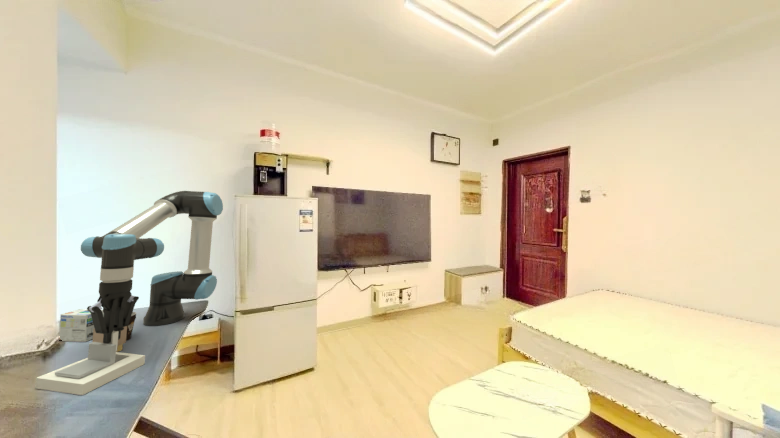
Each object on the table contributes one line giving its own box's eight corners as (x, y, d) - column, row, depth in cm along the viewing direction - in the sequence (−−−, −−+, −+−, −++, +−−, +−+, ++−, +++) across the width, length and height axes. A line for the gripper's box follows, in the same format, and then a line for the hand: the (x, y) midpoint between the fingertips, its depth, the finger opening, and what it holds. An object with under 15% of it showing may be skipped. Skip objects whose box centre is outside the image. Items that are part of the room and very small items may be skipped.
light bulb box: (104, 335, 105) (106, 309, 106) (85, 342, 99) (87, 315, 99) (77, 334, 105) (80, 308, 105) (57, 341, 98) (59, 314, 98)
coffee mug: (113, 346, 96) (115, 320, 97) (97, 343, 98) (99, 317, 98) (148, 334, 108) (150, 310, 108) (133, 331, 109) (134, 308, 110)
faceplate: (104, 359, 88) (105, 350, 88) (144, 364, 86) (145, 355, 86) (35, 388, 72) (36, 377, 72) (82, 395, 70) (83, 384, 70)
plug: (111, 347, 95) (113, 322, 96) (125, 349, 95) (127, 324, 95) (91, 355, 89) (93, 329, 90) (105, 357, 89) (107, 330, 89)
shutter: (92, 359, 81) (93, 341, 82) (114, 362, 80) (116, 344, 81) (54, 375, 73) (56, 355, 73) (79, 378, 72) (81, 358, 72)
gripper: (129, 275, 90) (123, 341, 90) (81, 283, 77) (74, 360, 77) (147, 277, 90) (142, 343, 89) (101, 285, 77) (95, 363, 76)
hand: (110, 351), depth 83 cm, fingers closed
